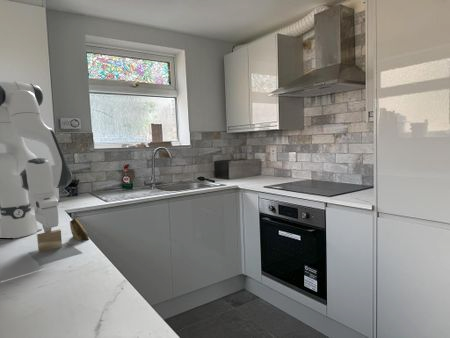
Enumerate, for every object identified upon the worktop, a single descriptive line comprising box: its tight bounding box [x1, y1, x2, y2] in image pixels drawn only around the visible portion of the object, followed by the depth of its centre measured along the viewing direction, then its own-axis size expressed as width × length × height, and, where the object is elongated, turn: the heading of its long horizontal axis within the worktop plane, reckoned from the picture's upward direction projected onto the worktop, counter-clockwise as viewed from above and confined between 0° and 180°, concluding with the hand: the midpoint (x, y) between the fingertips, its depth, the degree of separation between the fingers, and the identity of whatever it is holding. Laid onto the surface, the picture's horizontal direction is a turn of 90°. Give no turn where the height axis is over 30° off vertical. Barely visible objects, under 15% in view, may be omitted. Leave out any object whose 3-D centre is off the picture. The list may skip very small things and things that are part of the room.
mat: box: [28, 242, 83, 266], centre depth 120 cm, size 19×14×1 cm
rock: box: [69, 217, 90, 242], centre depth 137 cm, size 11×9×10 cm
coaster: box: [36, 228, 63, 253], centre depth 123 cm, size 2×8×7 cm, turn 133°
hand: (48, 235), depth 125 cm, fingers closed
